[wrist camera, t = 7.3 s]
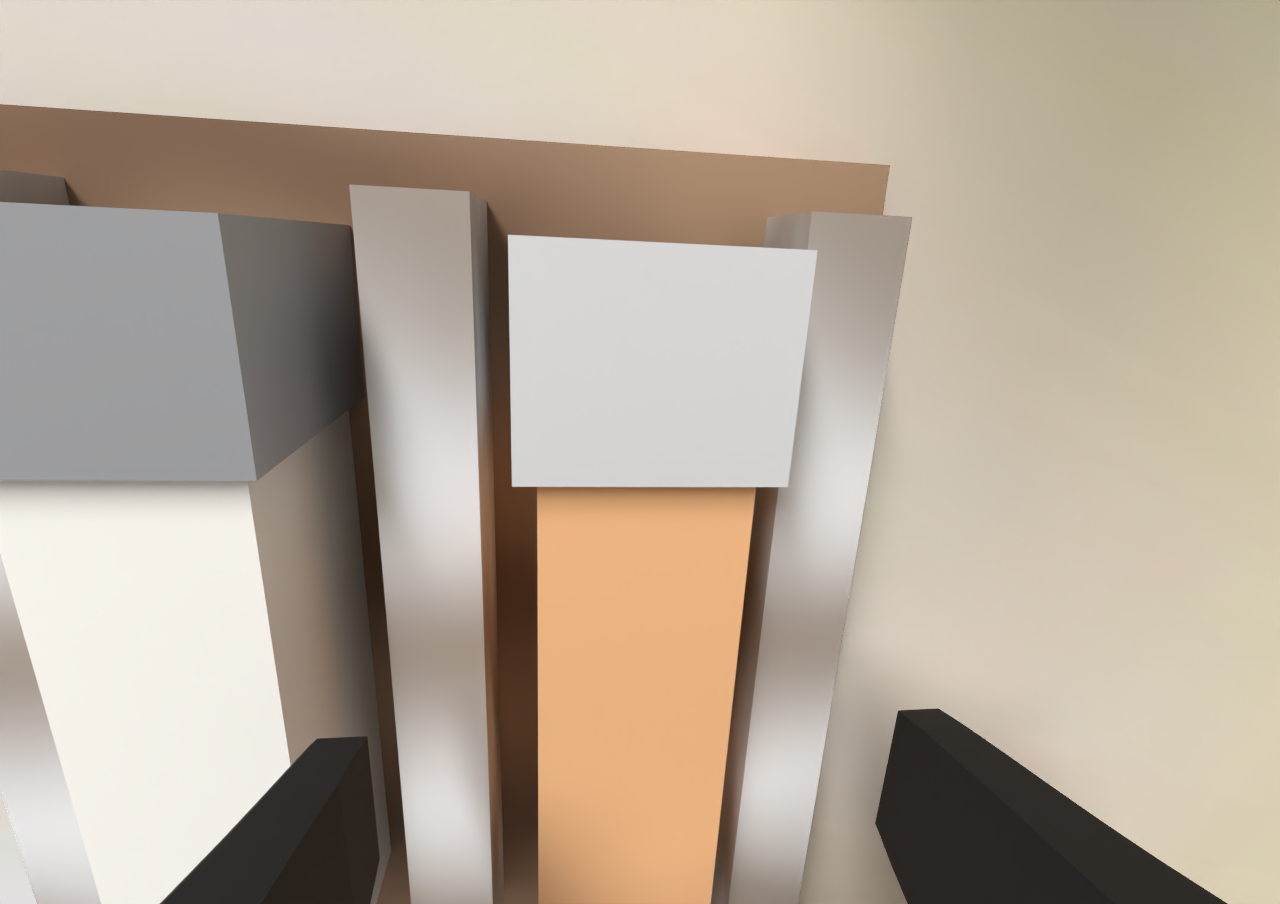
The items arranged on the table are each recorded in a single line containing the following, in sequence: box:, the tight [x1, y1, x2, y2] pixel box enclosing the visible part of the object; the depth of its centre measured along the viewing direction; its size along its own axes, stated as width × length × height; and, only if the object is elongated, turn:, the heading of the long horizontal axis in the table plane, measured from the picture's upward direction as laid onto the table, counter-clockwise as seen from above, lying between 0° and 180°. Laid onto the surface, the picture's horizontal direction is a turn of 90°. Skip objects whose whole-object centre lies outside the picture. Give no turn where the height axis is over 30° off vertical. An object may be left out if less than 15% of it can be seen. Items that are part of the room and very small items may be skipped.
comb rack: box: [0, 104, 912, 904], centre depth 13 cm, size 18×16×3 cm
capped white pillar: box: [0, 202, 391, 904], centre depth 11 cm, size 14×4×4 cm, turn 177°
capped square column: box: [508, 235, 818, 904], centre depth 12 cm, size 14×4×4 cm, turn 177°
